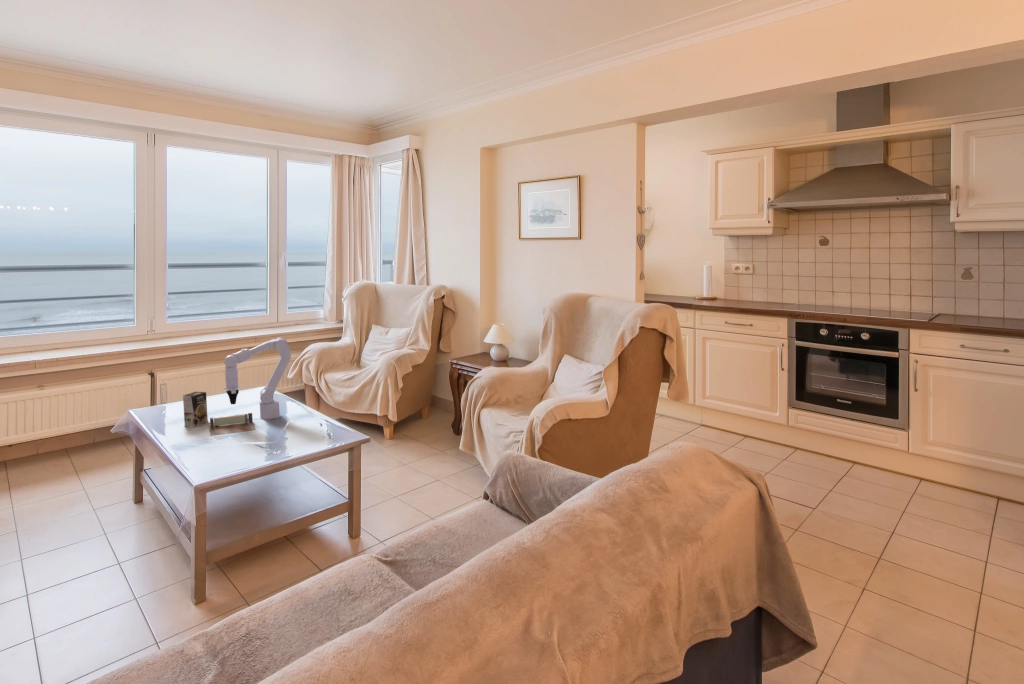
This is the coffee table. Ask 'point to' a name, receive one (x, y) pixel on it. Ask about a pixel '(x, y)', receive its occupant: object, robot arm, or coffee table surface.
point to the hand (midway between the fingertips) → (233, 403)
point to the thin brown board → (231, 427)
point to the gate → (230, 419)
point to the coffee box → (195, 409)
